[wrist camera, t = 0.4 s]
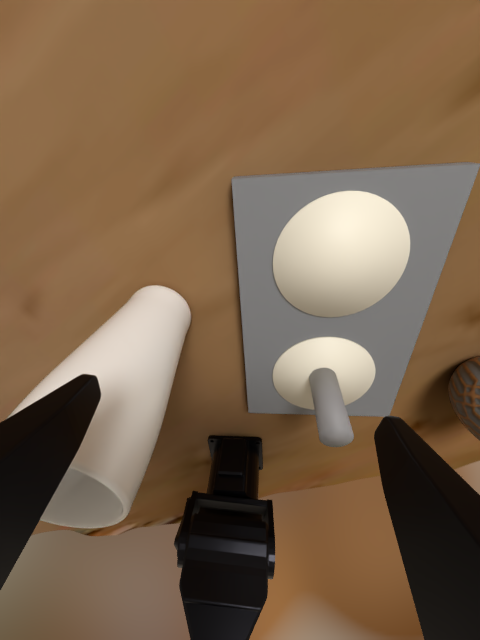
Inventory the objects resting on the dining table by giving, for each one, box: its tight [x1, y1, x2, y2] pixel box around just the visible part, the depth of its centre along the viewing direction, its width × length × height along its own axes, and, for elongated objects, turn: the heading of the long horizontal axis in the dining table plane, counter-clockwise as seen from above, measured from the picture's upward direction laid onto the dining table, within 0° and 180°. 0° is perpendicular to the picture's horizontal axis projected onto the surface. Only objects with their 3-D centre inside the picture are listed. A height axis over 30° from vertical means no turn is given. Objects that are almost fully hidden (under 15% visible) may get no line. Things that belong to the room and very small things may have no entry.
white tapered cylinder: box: [5, 285, 191, 528], centre depth 18 cm, size 7×7×15 cm
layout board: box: [232, 162, 480, 447], centre depth 20 cm, size 22×14×7 cm, turn 4°
